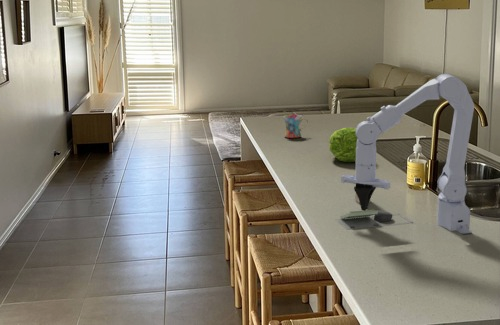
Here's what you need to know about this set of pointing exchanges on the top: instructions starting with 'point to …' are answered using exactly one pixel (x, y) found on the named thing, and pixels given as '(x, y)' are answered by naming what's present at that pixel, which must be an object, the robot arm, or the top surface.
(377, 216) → the dark grey pebble
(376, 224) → the grey ball tray
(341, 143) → the lettuce
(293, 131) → the mug
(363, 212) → the cover
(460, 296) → the top surface
